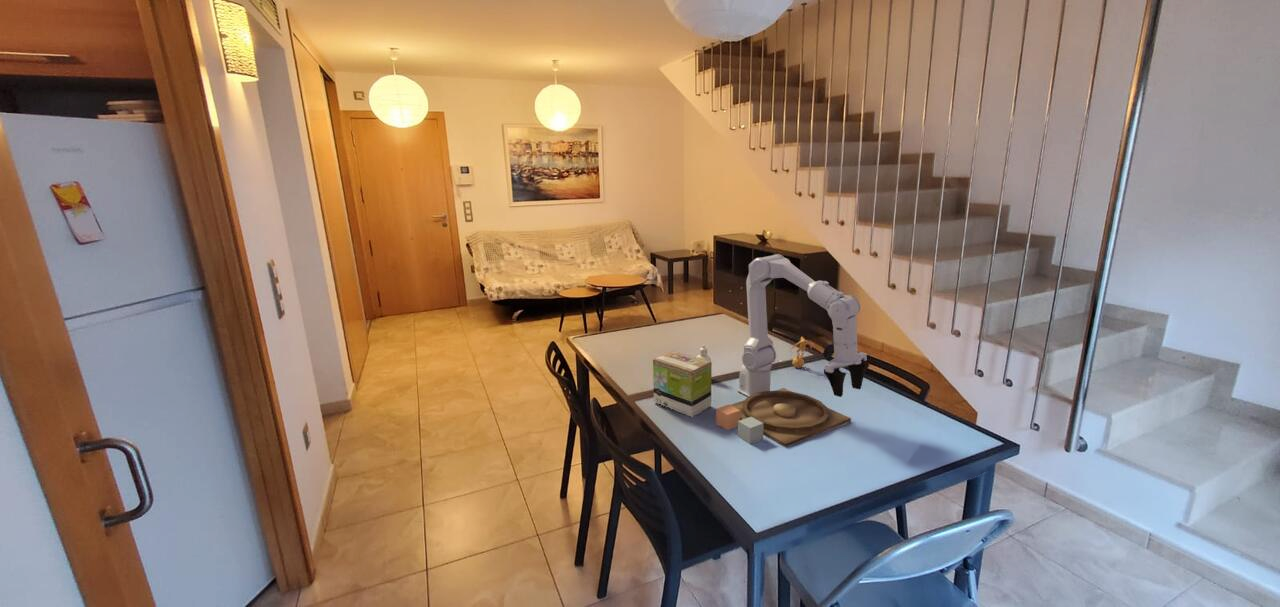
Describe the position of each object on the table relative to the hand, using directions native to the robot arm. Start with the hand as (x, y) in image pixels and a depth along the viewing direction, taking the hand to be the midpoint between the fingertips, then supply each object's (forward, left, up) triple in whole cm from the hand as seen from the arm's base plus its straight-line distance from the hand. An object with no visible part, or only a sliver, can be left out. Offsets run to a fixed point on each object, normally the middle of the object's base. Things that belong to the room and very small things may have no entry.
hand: (847, 392), depth 136 cm
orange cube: (-19, -25, -10) cm, 33 cm away
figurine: (-37, +22, -10) cm, 44 cm away
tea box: (-36, -29, -11) cm, 47 cm away
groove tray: (-14, -9, -10) cm, 19 cm away
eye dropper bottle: (-49, -11, -10) cm, 51 cm away
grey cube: (-10, -25, -10) cm, 29 cm away
